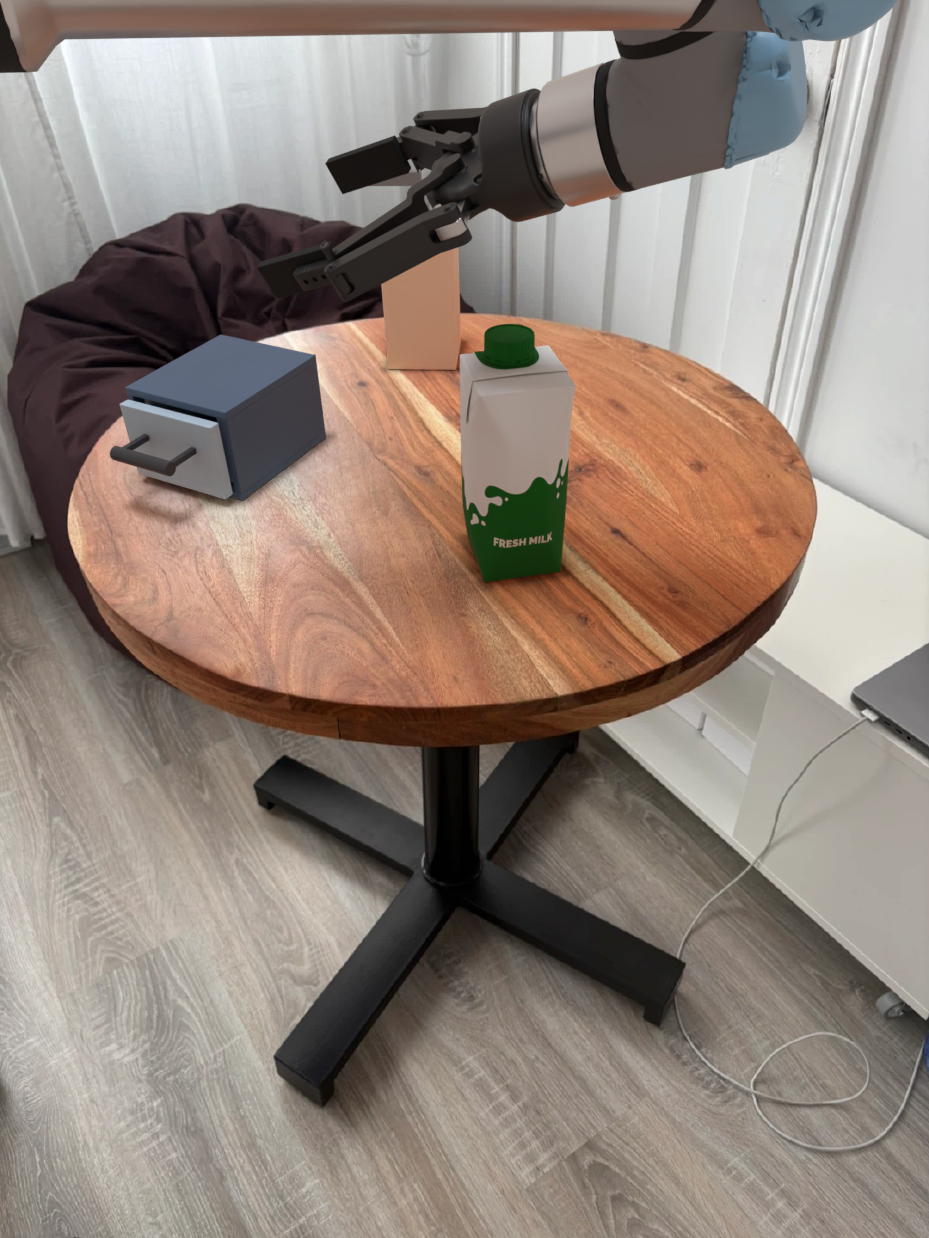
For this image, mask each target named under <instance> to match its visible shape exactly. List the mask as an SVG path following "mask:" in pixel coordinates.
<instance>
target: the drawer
mask: <svg viewBox="0 0 929 1238" xmlns="http://www.w3.org/2000/svg"><path fill="white" fill-rule="evenodd" d="M144 402H145V404H144V403H140V402H136V401H132V400H128V399H126V400H124V401H123V402H120V403H119V408H120V411H121V415H122V419H123V423H124V426H125V429H126V433H127V436H128V440H129V442H128V443H127V444H125V445H123V446H119V445H114V446H112V447H111V448H110V450H109V457H110V459H111V460H112V461H115V462H119V463H122V464H126V465H129V466H132V467H136V469H137V472H138V474H139V475H142V476H145V477H149V478H152V479H154V480H155V479H156V480H159V481H162V482H165V483H169V484H172V485H176V486H179V487H182V488H186V489H189V490H192V491H195V492H199V493H202V494H206V495H209V496H213V497H215V498H219V499H223V500H227V499H229V498H231V497H230V496H231V495H232V494H233V492H232V487H231V482H232V483H233V478H232V473H231V468H230V463H229V458H228V453H227V449H226V444H225V439H224V434H223V429H222V424H221V419H220V418H216V417H212V416H208V415H204V414H200V413H196V412H193V411H189V410H185V409H181V408H177V407H173V406H169V405H165V404H162V403H158V402H154V401H150V400H146V399H144Z"/></svg>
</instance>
